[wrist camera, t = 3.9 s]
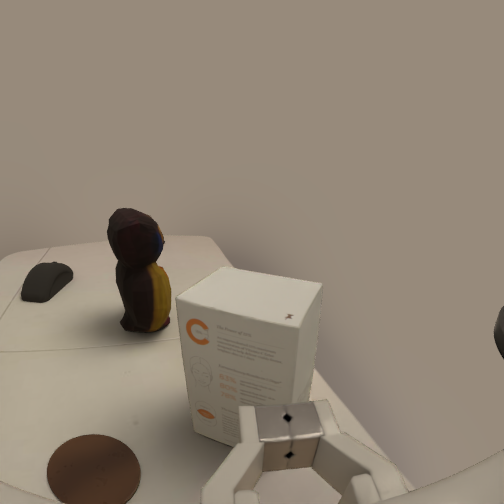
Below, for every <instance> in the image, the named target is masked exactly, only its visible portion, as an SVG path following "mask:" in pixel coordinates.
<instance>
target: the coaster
mask: <svg viewBox="0 0 504 504" xmlns="http://www.w3.org/2000/svg"><path fill="white" fill-rule="evenodd" d="M140 477H141V470H140V465H139V462H138V460H137V458H136V456H135V454H134V453H133V452H132V450H131V449H130V448H129V447H128V446H127V445H125V444H124V443H122V442H121V441H119V440H117V439H115V438H112V437H109V436H105V435H95V434H92V435H83V436H79V437H76V438H73V439H71V440H69V441H67V442H65V443H64V444H62V445H61V446H60V447H58V449H57V450H56V451H55V452H54V453H53V455H52V456H51V458H50V460H49V463H48V467H47V479H48V483H49V485H50V488H51V489H52V491H53V493H54V494H55V495H56V496H57V498H58V499H59V500H60V501H62V502H63V503H65V504H125V503H126V502H127V501H129V500H130V498H131V497H132V496H133V495H134V493H135V492H136V490H137V488H138V486H139V482H140Z"/></svg>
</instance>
